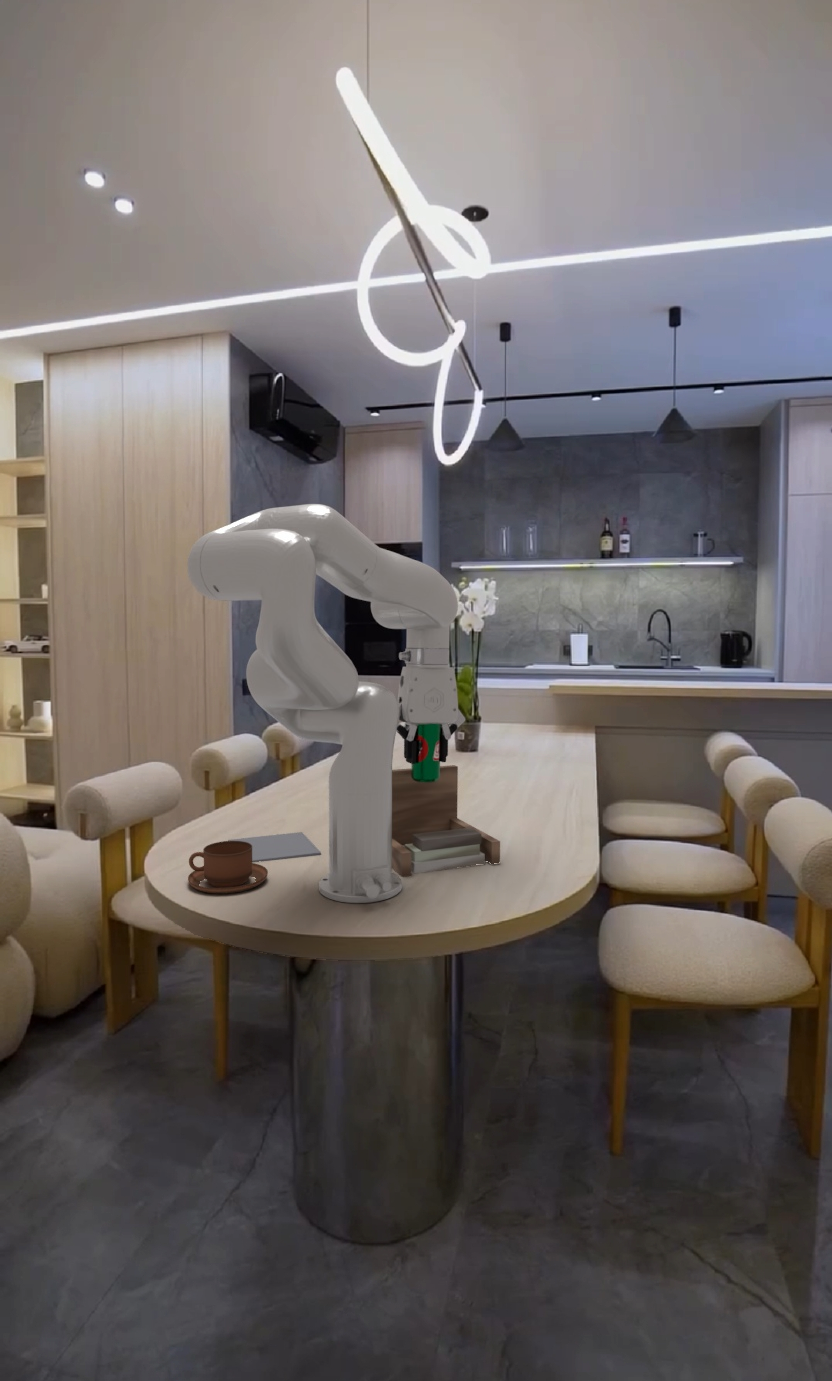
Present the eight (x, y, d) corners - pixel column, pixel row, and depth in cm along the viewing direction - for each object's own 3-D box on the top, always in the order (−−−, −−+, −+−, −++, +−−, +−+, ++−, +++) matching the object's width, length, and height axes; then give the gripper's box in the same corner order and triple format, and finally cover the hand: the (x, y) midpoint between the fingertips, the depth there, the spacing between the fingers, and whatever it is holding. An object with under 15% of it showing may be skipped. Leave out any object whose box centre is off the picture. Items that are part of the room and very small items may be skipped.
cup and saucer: (186, 904, 103) (186, 862, 102) (189, 877, 114) (188, 839, 114) (271, 896, 106) (270, 855, 106) (264, 870, 118) (264, 834, 117)
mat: (321, 855, 125) (321, 852, 125) (240, 865, 119) (240, 861, 119) (301, 834, 138) (301, 831, 138) (228, 842, 132) (228, 839, 132)
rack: (499, 864, 121) (501, 783, 120) (402, 877, 114) (402, 792, 113) (453, 836, 137) (454, 765, 136) (365, 846, 130) (365, 771, 129)
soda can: (439, 783, 123) (441, 714, 122) (410, 782, 123) (412, 713, 122) (439, 778, 128) (440, 711, 127) (411, 777, 128) (412, 711, 127)
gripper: (389, 659, 117) (388, 767, 118) (480, 659, 124) (478, 762, 125) (374, 658, 124) (373, 761, 125) (461, 659, 131) (459, 756, 132)
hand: (425, 760), depth 125 cm, fingers closed on soda can, 5 cm apart
